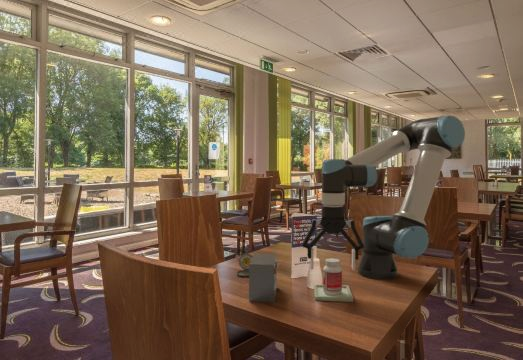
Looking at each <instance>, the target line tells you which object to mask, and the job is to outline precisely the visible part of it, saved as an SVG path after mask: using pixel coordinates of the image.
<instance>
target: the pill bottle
mask: <svg viewBox="0 0 523 360" xmlns="http://www.w3.org/2000/svg"><path fill="white" fill-rule="evenodd" d="M324 262H325V265H324V266H323V268H322V269H323V270H322V272H323V274H322V277H323V278H322V285H323V292H324V293H326V294H328V295H339V294H341V293H342V285H343V269H342V267H341V266H340V264H341V260H340V259H339V258H331V257H330V258H326V259H325V261H324Z"/></svg>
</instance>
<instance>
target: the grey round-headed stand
mask: <svg viewBox="0 0 523 360" xmlns="http://www.w3.org/2000/svg"><path fill="white" fill-rule="evenodd" d="M243 251H244V252H245V253H243V254H242V255H240V257H239V259H238V264H239V267H240V268H241V269H240V270H237V272H236V275H237V276H239V277H249V263H250V261H251V259H252V257H253V255H252V254H250V253H249V252H250V251H251V249H250V247H248V250H246V247H245V248H243Z"/></svg>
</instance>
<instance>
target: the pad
mask: <svg viewBox="0 0 523 360" xmlns="http://www.w3.org/2000/svg"><path fill="white" fill-rule="evenodd" d="M313 294H314V301H320V302H321V301H323V302H324V301H326V302H354V297H353V294H352V292H351V289H350V287H349V285H348V284H347V285H346V284H344V285H343V284H342V293H341V294H339V295H328V294H326V293H324V292H323V284H317V285H314V284H313Z"/></svg>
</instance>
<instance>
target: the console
mask: <svg viewBox="0 0 523 360" xmlns="http://www.w3.org/2000/svg"><path fill="white" fill-rule="evenodd" d="M252 256H253V257H252V259H250V262H249V276H248V301H249V302H251V303H252V302H253V303H257V302H258V303H275V299H276V293H277V287H278V286H277V284H278V282H277V281H278V277H277V275H278V268H279V262H278V254H277V253H253V255H252Z"/></svg>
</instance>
